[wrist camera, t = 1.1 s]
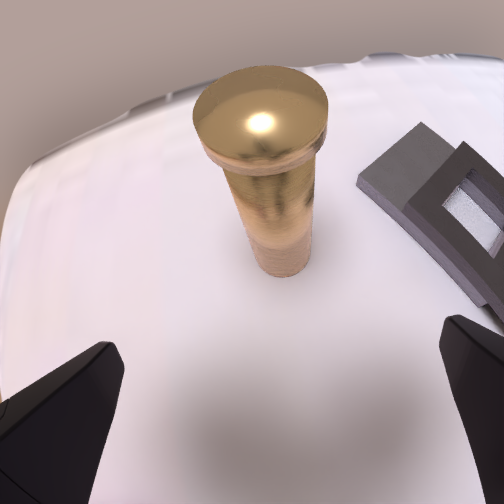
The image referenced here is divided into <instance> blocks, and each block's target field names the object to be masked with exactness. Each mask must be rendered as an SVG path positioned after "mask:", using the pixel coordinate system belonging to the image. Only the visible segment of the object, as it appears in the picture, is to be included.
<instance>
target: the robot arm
mask: <svg viewBox="0 0 504 504" xmlns="http://www.w3.org/2000/svg"><path fill="white" fill-rule="evenodd" d="M439 348H440V352H441V355H442V359H443V362H444V365H445V369H446V372H447V376H448V380H449V383H450V387H451V391H452V394H453V397H454V400H455V403H456V405H457V408H458V411H459V414H460V416H461V419H462V422H463V425H464V428H465V431H466V434H467V437H468V440H469V443H470V446H471V449H472V453H473V456H474V459H475V463H476V466H477V470H478V474H479V477H480V481H481V485H482V489H483V493H484V497H485V502H486V504H504V337H502V336H501V335H499V334H497V333H495V332H493V331H491V330H489V329H487V328H485V327H483V326H481V325H479V324H477V323H475V322H473V321H472V320H470V319H468V318H466V317H464V316H462V315H453V316H448V317H447V318H446V319H445V321H444V325H443V329H442V333H441V337H440V341H439ZM124 369H125V368H124V363H123V361H122V359H121V356H120V354H119V352H118V350H117V348H116V346H115V344H114V343H113V342H105V341H101V342H98V343H97V344H95V345H94V346H92V347H90V348H89V349H87V350H85V351H84V352H82V353H81V354H79V355H77V356H76V357H74V358H73V359H71V360H69V361H68V362H66V363H65V364H63V365H61V366H60V367H58V368H56V369H55V370H53V371H52V372H50V373H48V374H47V375H45V376H44V377H42V378H40V379H39V380H37V381H36V382H34V383H32V384H31V385H29V386H28V387H26V388H24V389H23V390H21V391H20V392H18V393H16V394H15V395H13V396H12V397H10V399H7V400H5V401H3V402H2V403H0V504H88V502H89V498H90V495H91V491H92V487H93V484H94V480H95V476H96V473H97V469H98V466H99V463H100V459H101V456H102V452H103V449H104V446H105V443H106V440H107V436H108V433H109V430H110V427H111V424H112V421H113V417H114V414H115V410H116V406H117V401H118V397H119V392H120V388H121V383H122V379H123V375H124Z"/></svg>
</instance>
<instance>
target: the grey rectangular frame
mask: <svg viewBox="0 0 504 504" xmlns="http://www.w3.org/2000/svg"><path fill="white" fill-rule="evenodd" d="M356 186H357V187H359V188H360V189H361V190H362V191H363V192H364V193H366V194H367V195H368V196H369V197H370V198H371V199H372V200H373V201H375V202H376V203H377V204H378V205H379V206H380V207H381V208H382V209H383V210H385V211H386V212H387V213H388V214H389V215H390V216H391V217H392V218H393V219H394V220H395V221H396V222H397V223H398V224H400V225H401V226H402V227H403V228H404V229H405V230H406V231H407V232H408V233H409V234H410V235H411V236H412V237H413V238H414V239H415V240H416V241H417V242H418V243H419V244H420V245H421V246H422V247H423V248H424V249H425V250H426V251H427V252H428V253H429V254H430V255H431V256H432V257H433V258H434V259H435V260H436V261H437V262H438V263H439V264H440V266H441V267H442V268H443V269H444V270H445V271H446V272H447V273H448V274H449V275H450V276H451V277H452V278H453V280H454V281H455V282H456V283H457V284H458V285H459V286H460V287H461V288H462V290H463V291H464V292H465V293H466V294H467V295H468V296H469V298H470V299H471V300H472V301H473V302H474V303H475V305H476V306H477V307H478V308H479V307H481V306H483V305H485V304H487V303H488V304H489V305H490V306H491V308H492V309H493V310H494V311H495V313H496V314H497V315H498V316H499V318H500V319H501V320H502V321H503V323H504V177H503V176H502V175H501V174H500V173H499V172H498V171H496V170H495V169H494V168H493V167H492V166H491V165H490V164H489V163H488V162H487V161H486V160H485V159H484V158H483V157H482V156H480V155H479V154H478V153H477V152H476V151H475V150H474V149H473V148H471V147H470V146H469V145H468V144H467V143H466V142H464V141H463V142H462V143H461V144H460V145H459V147H458V148H457V149H455V148H454V147H452V146H451V145H450V144H449V143H448V142H446V141H445V140H444V139H443V138H441V137H440V136H439V135H438V134H436V133H435V132H434V131H432V130H431V129H430V128H429V127H427V126H426V125H425V124H423V123H422V122H420V123H419V124H418V125H417V126H415V127H414V128H413V129H412V130H411V131H409V132H408V133H407V134H406V135H405V136H404V137H402V138H401V139H400V140H399V141H398V142H397V143H395V144H394V145H393V146H392V147H391V148H389V149H388V150H387V151H386V152H385V153H384V154H382V155H381V156H380V157H379V158H378V159H376V160H375V161H374V162H373V163H372V164H371V165H369V166H368V167H367V168H366V169H365V170H363V171H362V172H361V173H360V174H359V175H358V179H357V183H356ZM458 187H461V188H462V189H463V190H464V191H465V192H466V193H467V194H468V195H469V196H470V197H471V198H472V199H473V200H474V201H475V202H476V203H477V204H478V205H479V206H480V207H481V208H482V209H483V210H484V211H485V212H486V213H487V214H488V215H489V216H490V217H491V218H492V219H493V221H494V222H495V223H496V224H497V225H498V226H499V227H500V228H501V229H502V231H501V232H500V234H499V236H498V237H497V239H496V241H495V242H494V244H493V246H492V247H491V249H490V250H489V252H487V251H486V250H485V249H484V248H483V247H482V246H481V244H480V243H479V242H478V241H477V240H476V239H475V238H474V237H473V236H472V235H471V234H470V233H469V232H468V231H467V230H466V229H465V227H464V226H463V225H462V224H461V223H460V222H459V221H458V220H457V219H456V218H455V217H454V216H453V215H452V214H451V213H450V212H448V211H447V210H446V209H445V208H444V207H443V206H444V204H445V203H446V202H447V201H448V200H449V198H450V197H451V196H452V195H453V194H454V192H455V191H456V190H457V189H458Z"/></svg>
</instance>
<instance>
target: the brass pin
mask: <svg viewBox="0 0 504 504" xmlns="http://www.w3.org/2000/svg"><path fill="white" fill-rule="evenodd" d="M327 121H328V99H327V96H326V93H325V91H324V90H323V88H322V87H321V86H320V85H319V83H318V82H316V81H315V80H314V79H313V78H311V77H310V76H308V75H306V74H304V73H302V72H300V71H297V70H295V69H291V68H287V67H281V66H255V67H249V68H245V69H241V70H238V71H234V72H232V73H229V74H227V75H225V76H223V77H221V78H219V79H218V80H216V81H215V82H213V83H212V84H211V85H209V86H208V87H207V88H206V89H205V90H204V91H203V92H202V94H201V95H200V96H199V98H198V100H197V101H196V103H195V106H194V109H193V124H194V126H195V129H196V131H197V134H198V136H199V139H200V141H201V143H202V146H203V148H204V150H205V152H206V154H207V155H208V157H209V158H210V159H211V160H212V161H213V162H214V163H216V164H217V165H218V166H220V167H222V168H223V171H224V174H225V176H226V179H227V182H228V184H229V187H230V190H231V193H232V195H233V198H234V201H235V203H236V206H237V209H238V211H239V214H240V217H241V219H242V222H243V225H244V227H245V230H246V233H247V235H248V238H249V241H250V244H251V246H252V249H253V252H254V254H255V257H256V260H257V262H258V264H259V266H260V267H261V268H262V269H263V270H264V271H265V272H266V273H268V274H270V275H272V276H276V277H289V276H292V275H295V274H296V273H298V272H300V271H301V270H302V269H303V268H304V267H305V265H306V264H307V262H308V260H309V256H310V247H311V233H312V217H313V200H314V181H315V156H316V153H317V152H318V151H319V149H320V148H321V146H322V145H323V143H324V140H325V138H326V134H327Z"/></svg>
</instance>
